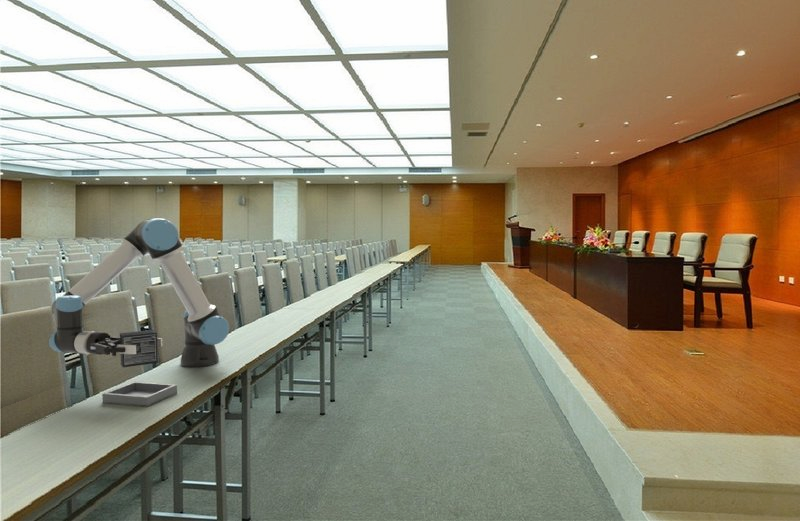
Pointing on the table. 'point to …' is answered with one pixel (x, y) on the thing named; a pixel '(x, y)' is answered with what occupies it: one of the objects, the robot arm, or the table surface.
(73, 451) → the table surface
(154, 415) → the table surface
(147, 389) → the tray
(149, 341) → the small box
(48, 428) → the table surface
